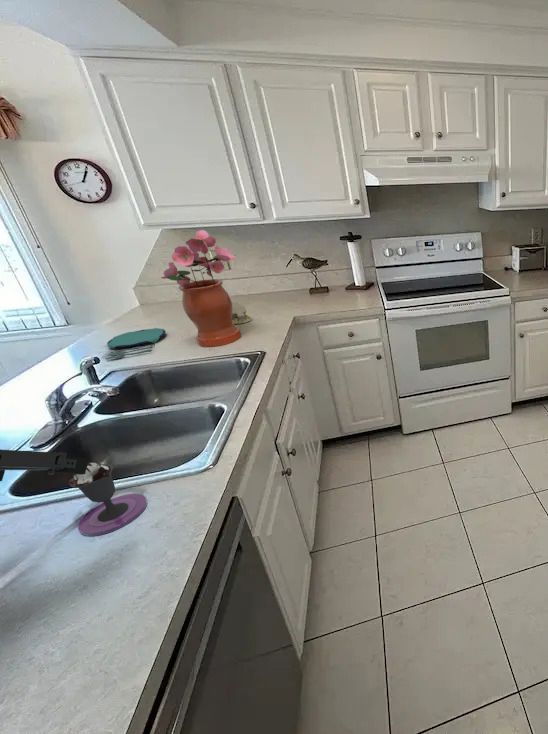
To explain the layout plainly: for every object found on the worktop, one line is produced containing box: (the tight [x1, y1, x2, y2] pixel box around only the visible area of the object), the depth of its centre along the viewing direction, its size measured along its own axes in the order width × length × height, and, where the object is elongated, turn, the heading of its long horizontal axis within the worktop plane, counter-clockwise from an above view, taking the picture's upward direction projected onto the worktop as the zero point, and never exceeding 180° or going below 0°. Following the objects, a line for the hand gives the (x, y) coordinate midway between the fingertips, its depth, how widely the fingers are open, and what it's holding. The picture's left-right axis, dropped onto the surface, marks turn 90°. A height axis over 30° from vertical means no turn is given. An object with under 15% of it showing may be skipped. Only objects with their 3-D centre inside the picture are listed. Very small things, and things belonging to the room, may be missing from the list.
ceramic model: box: [232, 301, 253, 325], centre depth 194 cm, size 14×11×10 cm
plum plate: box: [77, 493, 148, 537], centre depth 87 cm, size 11×11×1 cm
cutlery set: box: [104, 327, 166, 360], centre depth 173 cm, size 20×30×2 cm, turn 28°
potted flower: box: [160, 229, 242, 348], centre depth 166 cm, size 19×25×45 cm
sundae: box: [67, 456, 128, 521], centre depth 83 cm, size 7×7×15 cm
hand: (43, 470), depth 73 cm, fingers open, 13 cm apart
